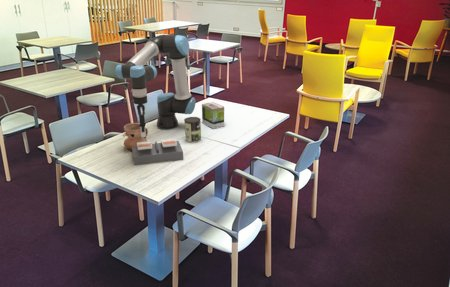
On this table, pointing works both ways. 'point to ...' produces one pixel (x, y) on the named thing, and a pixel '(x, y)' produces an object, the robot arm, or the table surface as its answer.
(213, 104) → the tea box
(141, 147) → the breaker
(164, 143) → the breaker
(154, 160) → the breaker panel
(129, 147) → the ceramic jug
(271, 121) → the table surface
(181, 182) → the table surface
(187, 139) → the coffee can
